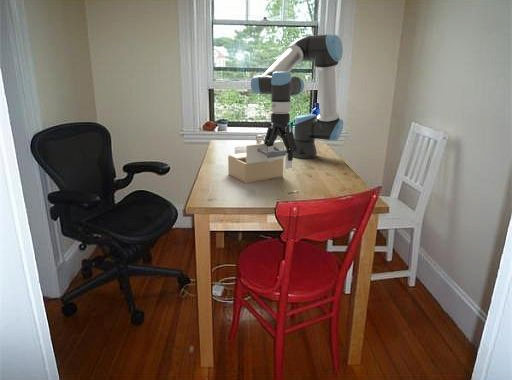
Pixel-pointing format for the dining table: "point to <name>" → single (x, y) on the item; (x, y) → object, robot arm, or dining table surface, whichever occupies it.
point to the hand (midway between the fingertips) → (279, 164)
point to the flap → (264, 152)
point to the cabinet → (253, 169)
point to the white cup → (240, 149)
